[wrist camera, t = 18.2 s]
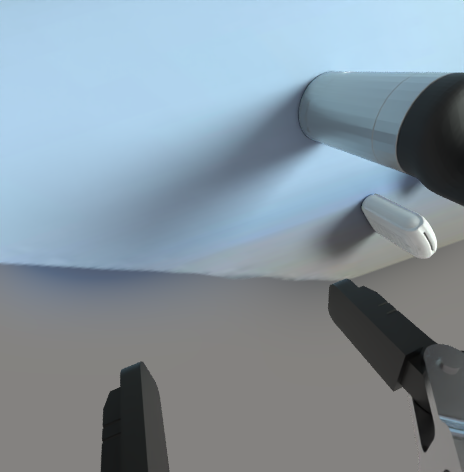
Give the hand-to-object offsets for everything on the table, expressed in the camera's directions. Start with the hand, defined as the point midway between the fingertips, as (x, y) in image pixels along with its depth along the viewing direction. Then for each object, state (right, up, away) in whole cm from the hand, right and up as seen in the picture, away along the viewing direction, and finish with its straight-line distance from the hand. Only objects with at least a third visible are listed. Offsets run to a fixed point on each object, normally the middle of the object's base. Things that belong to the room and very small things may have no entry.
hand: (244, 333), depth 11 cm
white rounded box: (+28, +9, +44) cm, 53 cm away
